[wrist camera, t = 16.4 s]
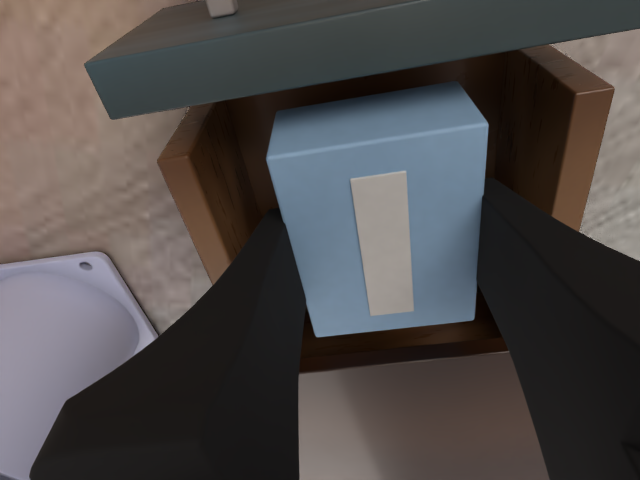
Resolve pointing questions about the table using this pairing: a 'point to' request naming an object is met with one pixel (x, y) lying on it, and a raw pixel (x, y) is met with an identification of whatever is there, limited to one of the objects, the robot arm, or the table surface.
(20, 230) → the table surface
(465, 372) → the cabinet
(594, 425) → the robot arm
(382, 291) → the tissue pack
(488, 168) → the drawer
